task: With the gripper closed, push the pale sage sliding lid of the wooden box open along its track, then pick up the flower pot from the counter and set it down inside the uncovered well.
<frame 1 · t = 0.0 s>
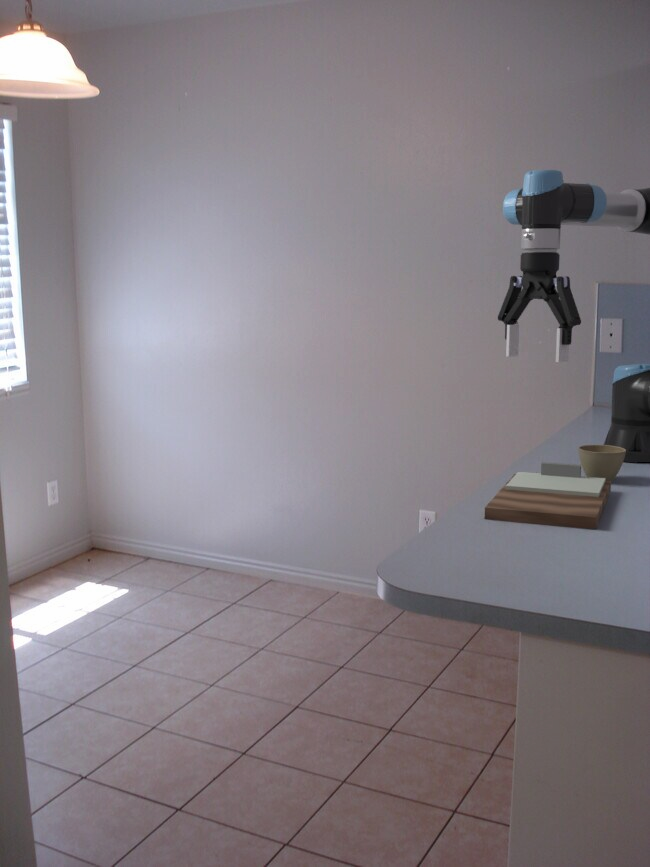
hand: (536, 359, 191), 28 cm above the worktop, fingers open, 13 cm apart
flower pot: (600, 481, 208), on the worktop
wooden box: (552, 501, 189), on the worktop
lid: (556, 477, 193), point 4 cm above the worktop, slide at 0.0 cm
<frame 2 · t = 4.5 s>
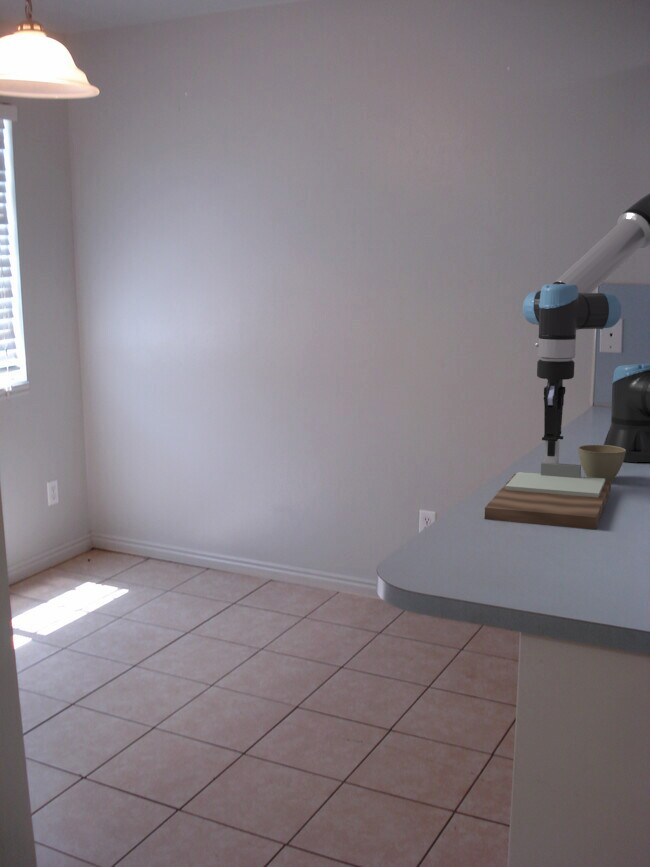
hand: (551, 470, 201), 4 cm above the worktop, fingers closed
lid: (556, 478, 193), point 4 cm above the worktop, slide at 0.3 cm, touching gripper
everything else where it was.
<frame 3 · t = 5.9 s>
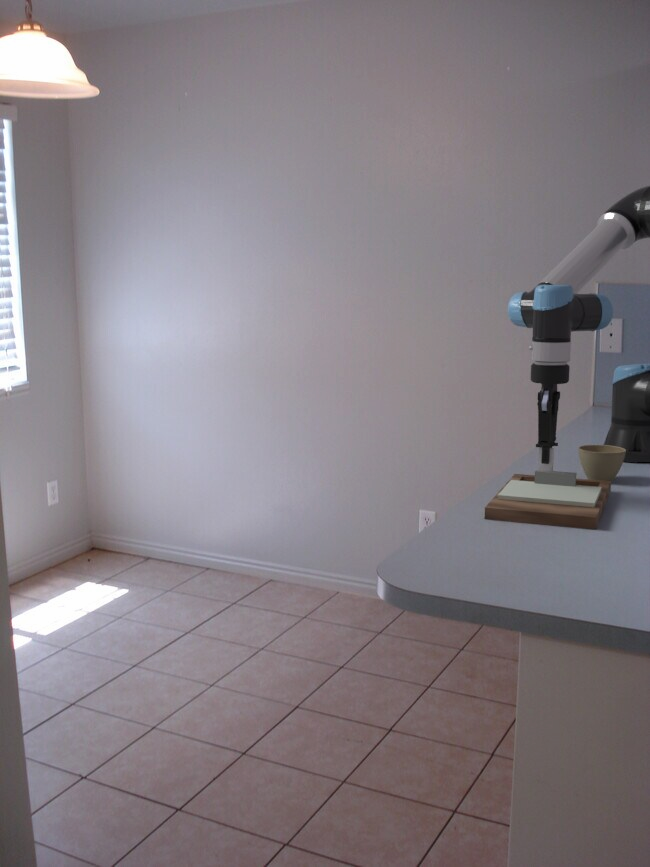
hand: (545, 478, 193), 4 cm above the worktop, fingers closed
lid: (550, 486, 185), point 4 cm above the worktop, slide at 8.4 cm, touching gripper
everything else where it was.
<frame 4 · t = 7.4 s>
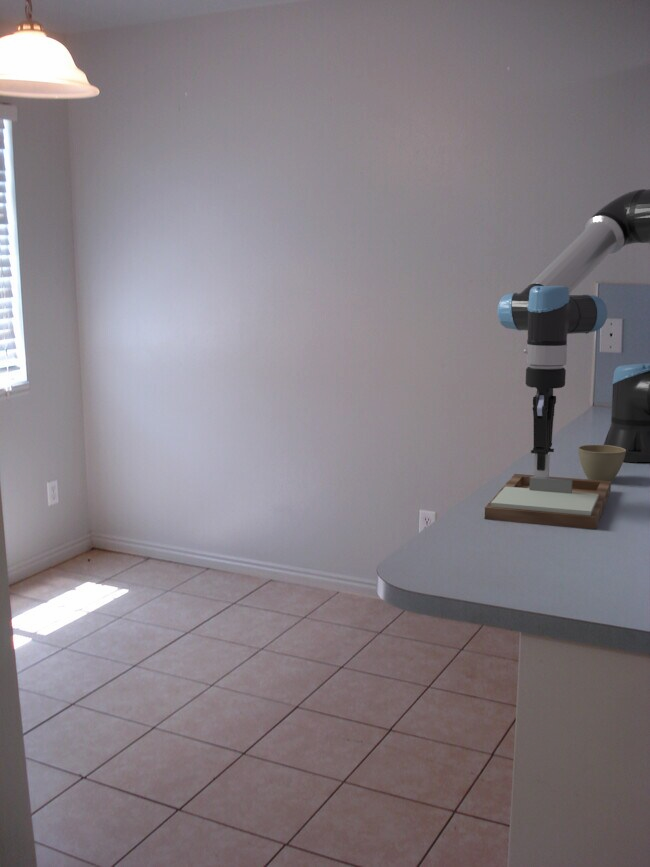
hand: (541, 485, 187), 4 cm above the worktop, fingers closed
lid: (546, 493, 179), point 4 cm above the worktop, slide at 14.8 cm, touching gripper
everything else where it was.
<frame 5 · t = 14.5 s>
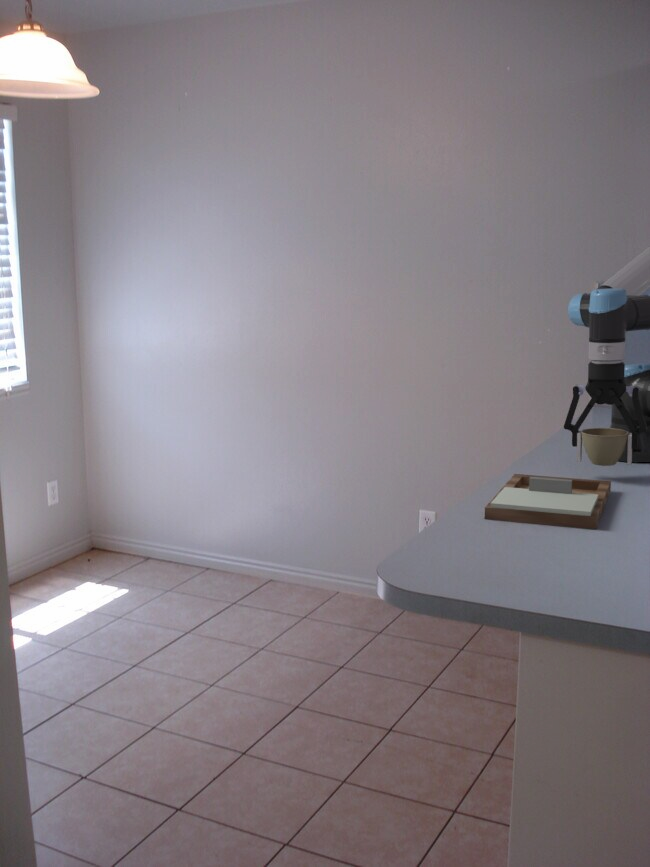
hand: (604, 462, 208), 4 cm above the worktop, fingers closed on flower pot, 10 cm apart
flower pot: (603, 464, 208), point 3 cm above the worktop, touching gripper
lid: (545, 494, 179), point 4 cm above the worktop, slide at 15.2 cm
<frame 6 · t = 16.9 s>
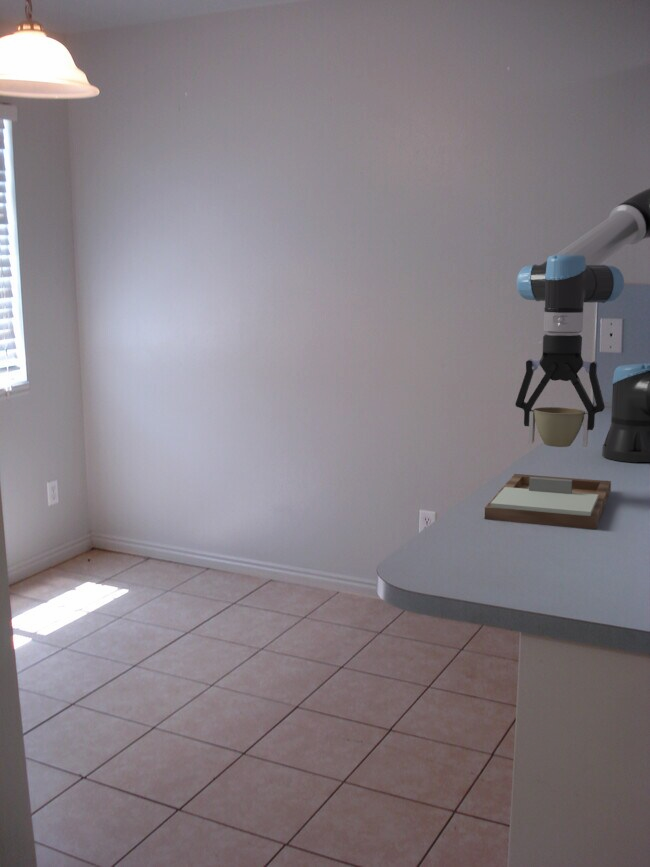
hand: (557, 444, 192), 11 cm above the worktop, fingers closed on flower pot, 10 cm apart
flower pot: (557, 446, 192), point 11 cm above the worktop, touching gripper
everything else where it was.
when the fingers open (3 cm above the worktop, at t = 19.2 s): flower pot drops 2 cm, resting on wooden box.
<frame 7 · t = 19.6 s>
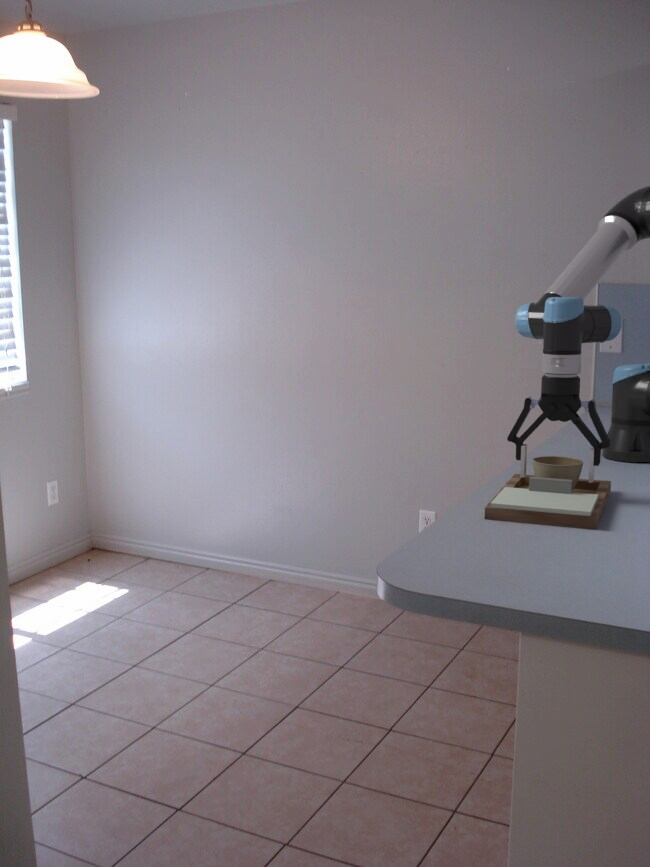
hand: (556, 478, 193), 4 cm above the worktop, fingers open, 13 cm apart
flower pot: (556, 495, 194), resting on wooden box
everything else where it was.
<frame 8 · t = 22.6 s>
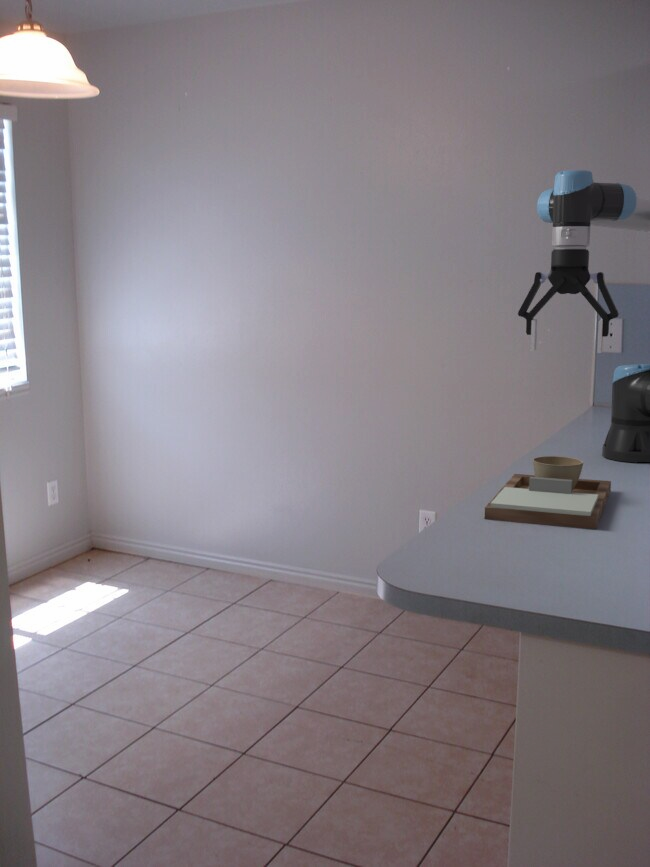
hand: (566, 351, 198), 29 cm above the worktop, fingers open, 13 cm apart
nothing on the worktop moved.
at the end: lid slide at 15.2 cm; flower pot inside the target area (0.2 cm from its centre), resting on wooden box; flower pot tilted 0° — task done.
